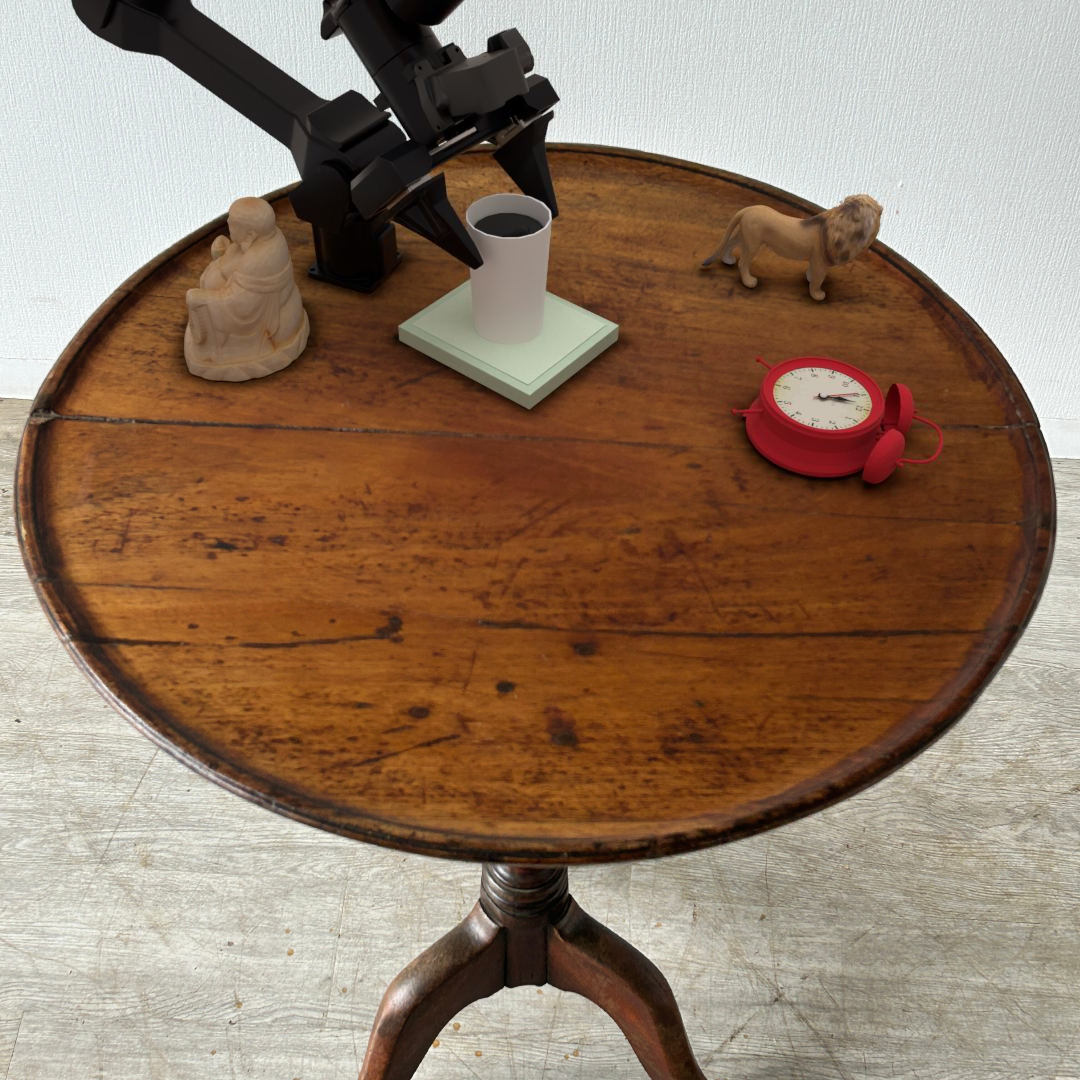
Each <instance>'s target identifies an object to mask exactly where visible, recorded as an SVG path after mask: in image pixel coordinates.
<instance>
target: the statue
mask: <svg viewBox="0 0 1080 1080" xmlns="http://www.w3.org/2000/svg"><path fill="white" fill-rule="evenodd" d="M226 222H227V224H228V230H229V237H230V239H231V241H232V243H231V241H230V240H229V238H228V237H227V236H225V235H224V234H220V235H218V236H217V237H216V238H215V239H214V240H213V242H212V244H211V250H210V254H211V257H212V259H213V260H212V261H211V262H210V263H209V265H207V266H206V267H205V269H204V271H203V272H202V273H201V275H200V277H199V288H197V287H195V288H190V289H188V290H187V291H186V294H185V303H186V306H187V307H188V322H187V325H186V328H185V332H184V338H183V339H184V340H183V342H184V343H183V345H184V346H183V355H184V359H185V361H186V367H187V368H188V371H189V373H190V374H191V375H193V376H196V377H200V378H202V379H205V380H209V381H225V382H243V381H249V380H251V379H259V378H264V377H267V376H269V375H271V374H273V373H275V372H278V371H281V370H283V369H285V368H287V367H288V366H289V365H291V364H292V362H293V361H295V360H297V359H299V356H301V354H302V353H303V352H304V351H305V350H306V347H307V343H308V337H309V335H310V332H311V329H310V321H309V315H308V313H307V311H306V308H305V307H303V299H302V294H301V291H300V289H299V287H298V285H297V283H296V282H295V273H294V265H293V262H292V258H291V257H292V256H291V253H290V251H289V246H288V242H287V239H286V237H285V235H284V234H283V232H282V230H281V229H280V228H279V227H278V226H277V225H276V214H275V211H274V209H273V207H272V206H271V204H270V203H269V202H268V201H266V200H265V199H263V198H261V197H257V196H244V197H240V198H237V199H235V200H234V201H233V202H232V203H231V204H230V206H229V208H228V218H227V221H226Z"/></svg>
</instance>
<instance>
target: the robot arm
mask: <svg viewBox="0 0 1080 1080" xmlns="http://www.w3.org/2000/svg"><path fill="white" fill-rule="evenodd" d="M465 1H466V0H322V18H321V20H320V21H321V22H320V27H319V28H320V32H319V34H320V38H321V39H322V40H323V41H328V40H332V39H334V38H336V37H340V36H341V35H343V36H344V37H345V39H346V40H347V42H348V44H349V45H350V46H351V48H352V50H353V51H354V53H355V55H356V56H357V58H358V59H359V61H360V62H361V64H362V66H363V67H364V69H365V70H366V72H367V74H368V75H369V76H370V78H371V80H372V82H373V83H374V85H375V86H376V88H377V90H378V91H379V93H378V94H377V95H376V96H375V98H373V100H372V102H373V103H374V104H373V103H372V102H371V101H370V100H369V99H368V98H367V97H365V96H364V95H363V94H362V93H360V92H359V91H357V90H354V89H352V88H351V89H349V90H347V91H345V92H344V93H342V94H340V95H338V96H336V97H334V98H333V99H332V100H331V99H325V98H322V97H321V96H319V95H317V94H316V93H315V92H314V91H312V90H311V89H309V88H308V87H306V85H304V84H302V83H301V82H299V81H298V80H297V79H295V78H294V77H292V76H291V75H289V74H288V73H287V72H285V71H284V70H282V68H280V67H279V66H277V65H276V64H274V63H273V62H272V61H270V60H269V59H267V58H266V57H264V55H262V54H261V53H259V52H257V51H256V50H255V49H254V48H252V47H250V46H249V45H247V44H246V43H245V42H244V41H242V40H241V39H239V38H238V37H236V36H235V35H234V34H232V33H231V32H230V31H228V30H227V29H226V28H225V27H222V26H221V25H220V24H219V23H217V22H215V21H214V20H213V19H212V18H210V17H209V16H207V15H206V14H204V13H203V12H202V11H200V10H199V9H197V8H196V7H195V5H194V4H193V2H192V0H70V2H71V7H72V8H73V11H74V13H75V15H76V17H77V18H78V19H79V21H80V22H81V23H82V25H84V26H85V27H86V28H87V30H88V31H90V32H91V33H92V34H93V35H95V36H97V38H99V39H101V40H103V41H105V42H107V43H108V44H111V45H112V46H115V47H116V48H119V49H121V50H122V51H125V52H130V53H135V54H137V53H138V54H143V55H149V56H156V57H160V58H162V59H164V60H166V61H167V62H168V63H170V64H171V65H173V66H174V67H176V68H177V69H179V70H180V71H181V72H182V73H184V74H185V75H187V76H188V77H189V78H191V79H192V80H194V82H196V83H198V84H199V85H200V86H202V87H203V88H204V89H206V90H207V91H209V92H210V93H211V94H212V95H214V96H216V97H217V99H220V100H221V101H222V102H224V103H225V104H226V105H228V106H229V107H231V108H232V109H233V110H235V111H236V112H238V113H239V114H241V115H242V116H243V117H244V118H246V119H247V120H249V121H250V122H251V123H253V124H254V125H256V126H257V127H258V128H259V129H261V130H262V131H264V132H265V133H267V134H268V135H269V136H270V137H272V138H273V139H275V140H276V141H277V142H279V143H280V144H282V145H283V146H284V147H286V148H287V149H288V150H289V151H290V153H291V157H292V159H293V161H294V164H295V166H296V169H297V171H298V174H299V176H300V179H301V180H302V181H301V182H300V183H299V184H297V186H296V187H295V188H294V189H293V190H291V191H290V192H289V193H288V199H289V202H290V204H291V206H292V209H293V211H294V214H295V216H296V218H297V219H298V220H301V221H304V222H305V223H308V224H311V231H312V232H311V233H312V238H313V246H314V254H315V261H314V262H313V263H312V264H311V265H310V266H309V267H308V268H307V269H306V272H307V275H308V277H310V278H314V279H316V280H321V281H324V282H328V283H331V284H335V285H339V286H342V287H345V288H349V289H353V290H357V291H359V292H364V293H370V292H372V291H373V290H374V289H375V288H376V287H378V285H380V283H381V282H383V280H384V279H385V278H386V277H387V276H388V275H389V274H390V273H391V272H392V270H394V268H395V267H396V266H397V265H398V264H399V263H400V262H401V261H402V260H403V258H404V257H403V256H404V255H403V252H402V251H400V250H398V244H397V243H398V242H397V229H396V225H395V223H396V224H398V225H400V226H402V227H404V228H406V229H408V230H409V231H411V232H413V233H414V234H416V235H418V236H420V237H422V238H424V239H426V240H428V241H429V242H430V243H432V244H434V245H435V246H436V247H438V248H439V249H441V250H443V251H444V252H445V253H448V254H449V255H451V256H452V257H453V258H455V259H457V260H458V261H460V262H461V263H462V264H464V265H466V266H467V267H469V269H470V268H472V269H473V270H476V269H478V268H479V267H481V266H482V265H483V264H484V261H483V259H482V257H481V255H480V253H479V251H478V249H477V247H476V245H475V243H474V241H473V240H472V238H471V237H470V235H469V233H468V232H467V227H465V225H464V223H463V221H462V220H461V218H460V217H459V215H458V214H457V212H456V211H455V208H454V207H453V205H452V203H451V202H450V200H449V198H448V192H447V183H446V175H445V172H444V171H441V172H440V173H437V174H436V175H434V176H432V175H431V172H432V171H434V170H436V169H439V167H441V166H444V165H445V164H446V163H447V164H448V163H449V162H451V161H452V160H454V159H456V158H458V157H459V156H461V155H463V154H465V153H466V152H468V151H470V150H471V149H474V148H475V147H478V146H479V145H481V144H482V143H485V142H487V143H489V144H491V145H494V146H495V147H496V146H499V148H497V149H496V150H495V151H494V152H492V153H491V156H492V158H493V159H494V160H495V161H496V162H497V164H498V165H499V166H500V167H501V169H503V171H504V172H505V173H506V174H507V176H508V177H509V178H510V179H511V180H512V181H513V183H514V184H515V185H516V186H517V188H519V190H520V191H521V192H522V193H523V195H525V196H530V197H532V198H535V199H537V200H539V201H541V202H543V203H544V204H545V205H546V206H547V207H548V208H549V209H550V211H551V217H552V221H553V220H554V219H556V218H558V217H559V216H560V212H559V208H558V202H557V197H556V194H555V188H554V185H553V180H552V176H551V172H550V167H549V163H548V162H549V161H548V156H547V147H546V138H547V132H548V129H549V128H548V127H549V123H550V122H551V121H553V119H554V118H555V109H552V108H553V107H554V106H555V105H557V104H558V102H560V101H561V99H560V97H559V95H558V93H557V91H556V89H555V88H554V87H553V84H552V83H551V81H550V80H549V78H548V77H545V76H544V75H540V74H539V73H533V74H531V75H529V76H527V77H526V75H527V74H529V73H530V72H532V71H533V70H534V67H535V57H534V55H533V54H532V51H531V48H530V45H529V44H528V43H527V41H526V40H525V38H524V37H523V36H522V34H521V33H520V31H519V30H518V28H517V27H511V28H506V29H504V30H501V31H499V32H497V33H495V34H493V35H491V36H489V37H488V38H487V41H486V51H484V52H481V53H480V54H478V55H475V56H472V57H467V56H466V55H465V53H464V52H463V50H462V49H461V46H459V45H457V44H455V42H454V41H452V42H450V43H448V44H446V45H443V44H442V43H441V41H440V40H439V38H438V36H437V35H436V33H435V32H434V31H433V29H432V27H435V26H439V25H441V24H443V23H444V22H445V21H446V20H447V19H448V18H449V17H450V16H451V15H452V14H453V13H454V12H455V11H456V10H457V9H458V8H459V7H460V6H461V5H462V4H463V3H464V2H465ZM388 109H390V110H391V112H390V111H387V110H388ZM550 109H552V110H550ZM549 110H550V111H549ZM393 115H394V116H395V118H396V119H397V121H398V123H399V124H400V126H401V128H400V127H399V126H398V125H397V124H396V123H395V122H394V121H392V120H391V119H390V118H392V116H393ZM402 129H403V130H402ZM407 137H408V139H407Z"/></svg>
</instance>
